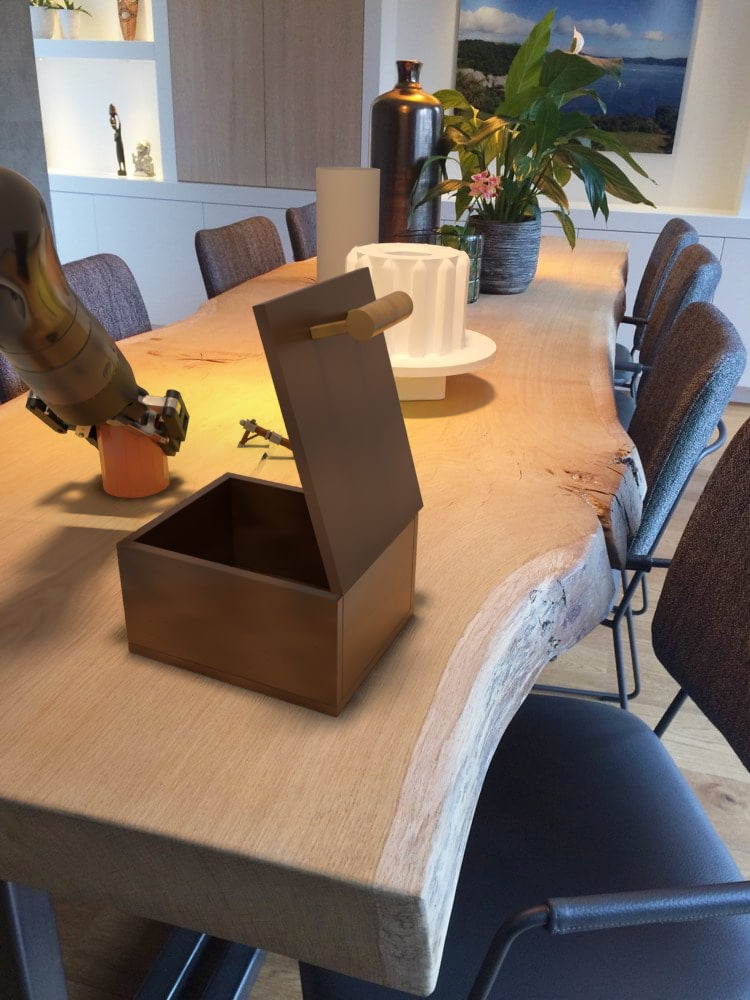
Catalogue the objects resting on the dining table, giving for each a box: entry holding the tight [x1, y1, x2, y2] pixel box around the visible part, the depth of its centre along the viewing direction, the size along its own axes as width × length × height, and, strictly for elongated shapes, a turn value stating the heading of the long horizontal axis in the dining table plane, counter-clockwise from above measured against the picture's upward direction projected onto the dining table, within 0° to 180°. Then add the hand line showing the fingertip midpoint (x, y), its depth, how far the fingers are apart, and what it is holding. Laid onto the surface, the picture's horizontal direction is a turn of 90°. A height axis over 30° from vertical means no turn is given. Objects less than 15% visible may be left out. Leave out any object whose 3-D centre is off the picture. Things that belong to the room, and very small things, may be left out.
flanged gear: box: [345, 242, 497, 402], centre depth 112 cm, size 25×25×19 cm
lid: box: [251, 267, 424, 595], centre depth 51 cm, size 17×14×5 cm
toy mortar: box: [236, 418, 292, 459], centre depth 92 cm, size 2×8×4 cm, turn 93°
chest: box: [115, 471, 420, 718], centre depth 60 cm, size 17×14×9 cm
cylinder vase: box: [315, 166, 381, 284], centre depth 167 cm, size 12×12×25 cm
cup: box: [96, 419, 171, 499], centre depth 81 cm, size 6×6×9 cm
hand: (139, 445), depth 82 cm, fingers closed on cup, 6 cm apart
